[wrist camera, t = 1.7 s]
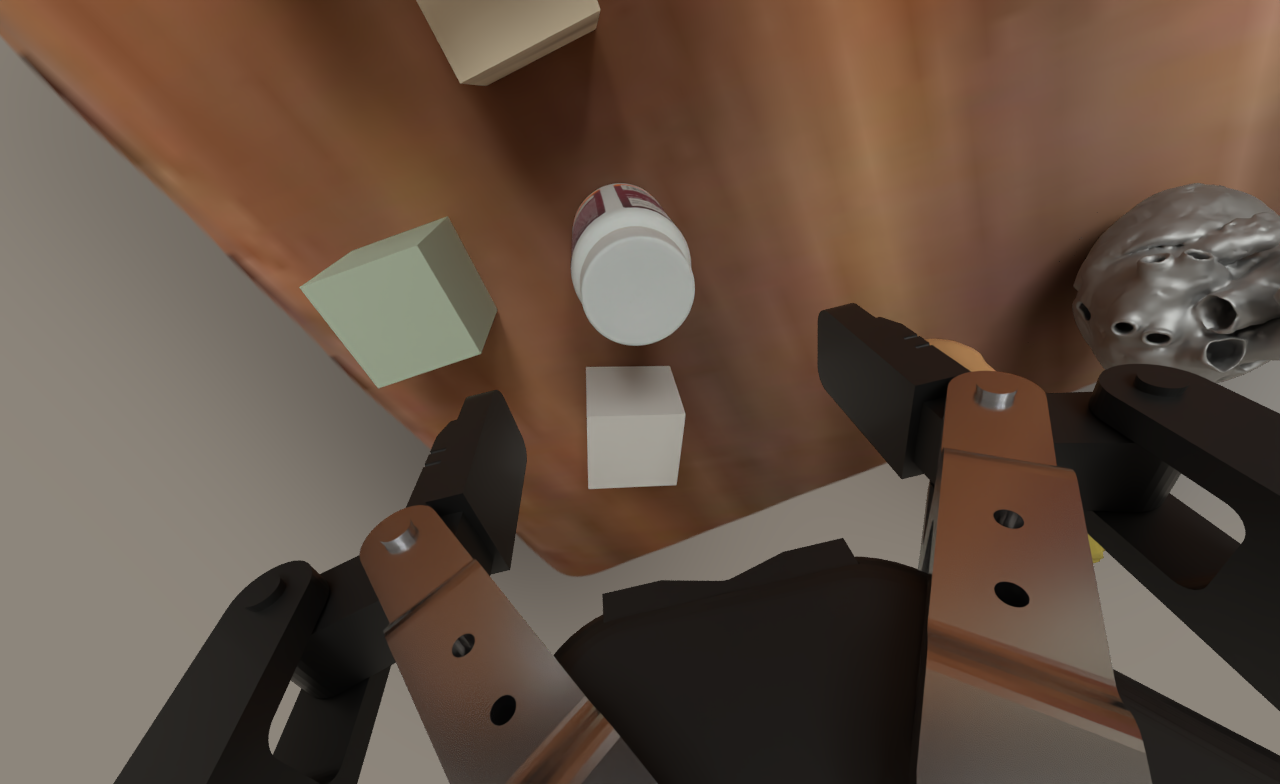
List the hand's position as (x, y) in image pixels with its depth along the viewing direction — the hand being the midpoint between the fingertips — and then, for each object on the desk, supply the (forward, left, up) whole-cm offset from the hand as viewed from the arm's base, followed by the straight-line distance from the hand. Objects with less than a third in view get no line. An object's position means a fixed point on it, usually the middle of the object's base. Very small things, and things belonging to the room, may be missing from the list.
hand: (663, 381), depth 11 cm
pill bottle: (0, 0, -14) cm, 14 cm away
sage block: (0, -10, -14) cm, 17 cm away
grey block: (+10, -2, -14) cm, 17 cm away
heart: (+8, +26, -14) cm, 30 cm away
